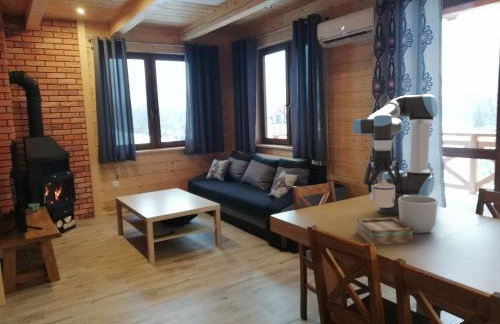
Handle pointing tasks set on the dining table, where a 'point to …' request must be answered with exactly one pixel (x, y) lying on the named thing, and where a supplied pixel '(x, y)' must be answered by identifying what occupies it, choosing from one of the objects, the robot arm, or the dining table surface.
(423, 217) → the planter
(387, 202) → the teacup with lid
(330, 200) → the dining table surface
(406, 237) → the brown wooden box
